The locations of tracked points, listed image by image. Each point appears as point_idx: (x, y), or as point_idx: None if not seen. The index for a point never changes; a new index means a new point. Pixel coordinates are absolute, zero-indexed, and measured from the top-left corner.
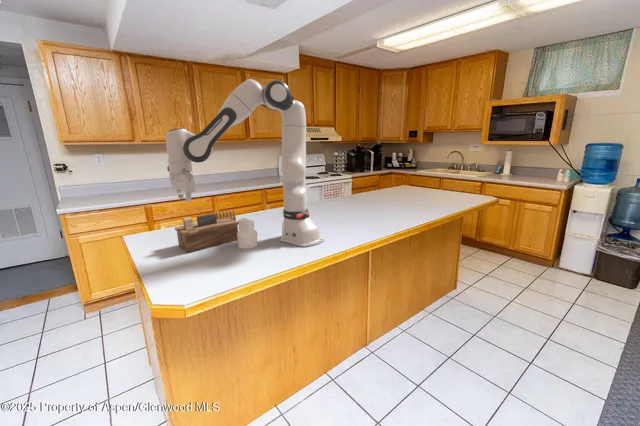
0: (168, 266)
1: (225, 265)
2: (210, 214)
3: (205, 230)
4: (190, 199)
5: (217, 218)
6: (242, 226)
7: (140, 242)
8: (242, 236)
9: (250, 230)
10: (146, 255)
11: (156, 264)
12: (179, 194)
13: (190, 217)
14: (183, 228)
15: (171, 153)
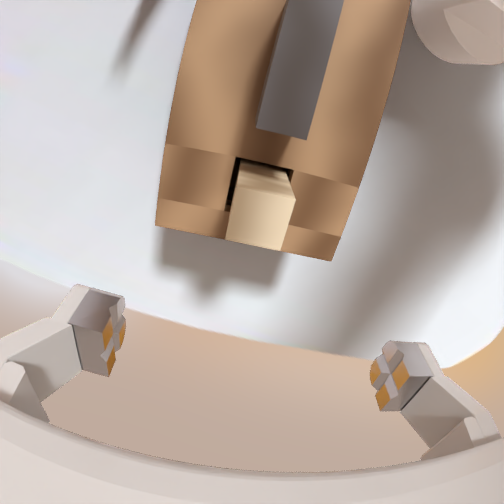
0: (348, 302)
1: (492, 211)
2: (306, 18)
3: (369, 144)
4: (431, 359)
5: None
6: (494, 24)
7: (34, 247)
8: (493, 64)
9: None
10: (185, 296)
11: (298, 313)
12: (78, 360)
13: (259, 192)
14: (224, 207)
15: None
